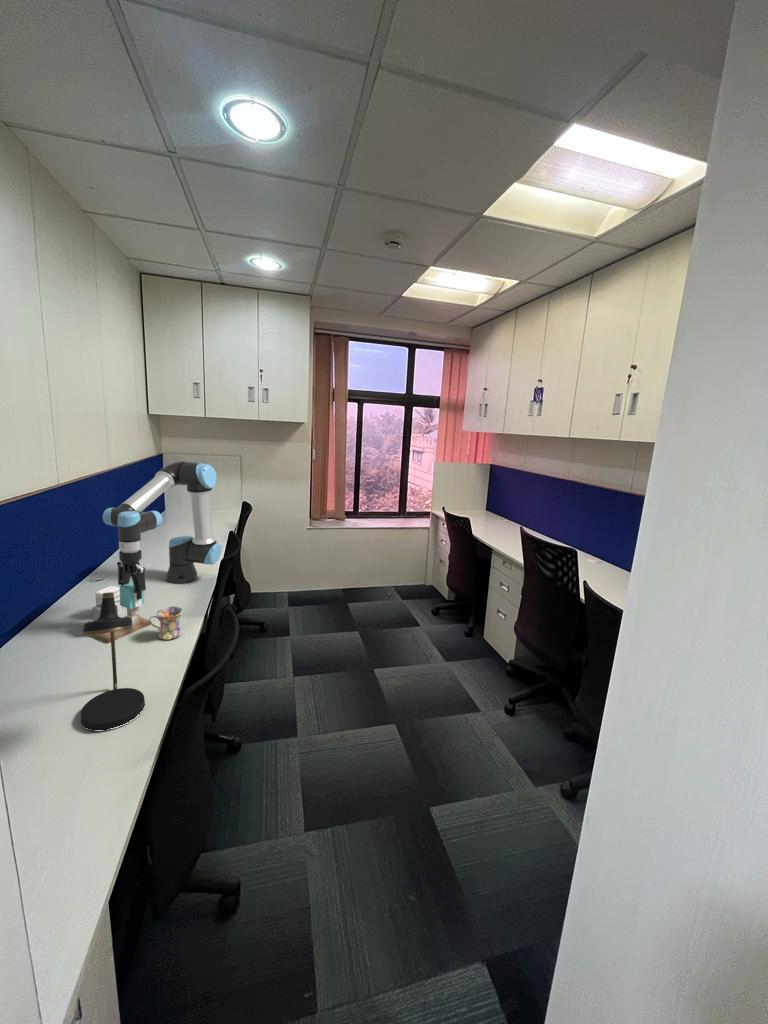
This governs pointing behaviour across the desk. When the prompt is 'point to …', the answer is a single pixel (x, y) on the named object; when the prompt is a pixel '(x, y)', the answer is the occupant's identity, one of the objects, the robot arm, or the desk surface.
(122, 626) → the lamp
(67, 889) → the desk surface
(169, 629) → the mug
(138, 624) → the stand
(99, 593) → the ink box
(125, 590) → the teal foam cube
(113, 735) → the desk surface
